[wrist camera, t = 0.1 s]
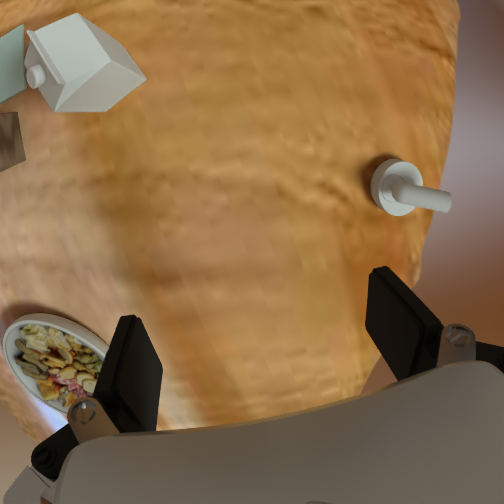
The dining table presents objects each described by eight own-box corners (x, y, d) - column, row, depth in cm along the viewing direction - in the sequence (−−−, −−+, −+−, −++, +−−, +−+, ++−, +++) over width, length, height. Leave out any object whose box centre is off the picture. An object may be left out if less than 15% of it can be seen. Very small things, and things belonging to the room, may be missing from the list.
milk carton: (121, 43, 30) (59, 0, 13) (147, 79, 33) (94, 51, 16) (81, 76, 31) (-1, 60, 14) (106, 112, 34) (29, 115, 16)
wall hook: (449, 233, 37) (398, 232, 36) (415, 212, 45) (366, 209, 44) (461, 176, 33) (410, 167, 32) (423, 163, 42) (374, 155, 41)
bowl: (-2, 346, 48) (-16, 368, 41) (43, 275, 42) (23, 300, 35) (92, 417, 60) (86, 441, 53) (163, 375, 54) (160, 405, 47)
